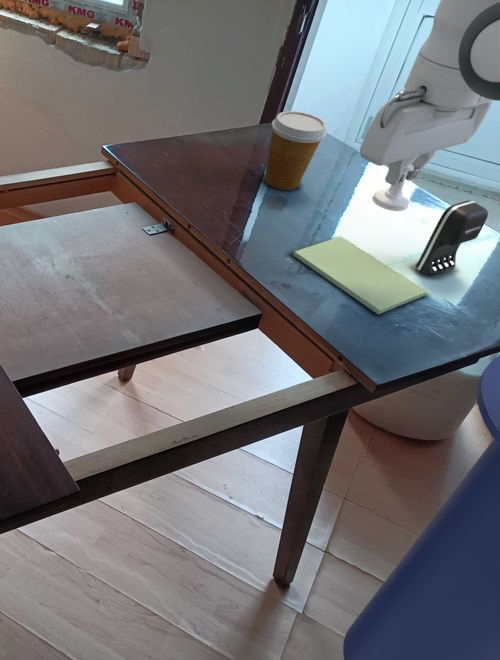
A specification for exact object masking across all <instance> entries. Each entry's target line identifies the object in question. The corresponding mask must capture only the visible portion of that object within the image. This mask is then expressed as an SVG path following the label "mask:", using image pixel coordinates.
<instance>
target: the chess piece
mask: <svg viewBox="0 0 500 660" xmlns="http://www.w3.org/2000/svg"><path fill="white" fill-rule="evenodd" d="M418 156H419V155H418ZM418 156H415V157H411V158H410V159H409V161H408V163H406V164H404V170H403V171H404V172H406V175H407V172H408V171H413V170H414V166H413V165H412V163H413V162H414V161H415V160H416V158H417V157H418ZM406 175H405V177H404V178H403V181H402V183H399V184H396V185H391V184H390V186H389V187H388V188H386V189H381V190H377V191H375V192H374V194H373V196H372V197H371V200H372V202H373V203H374V205H376V206H378V207H379V208H382V209H385V210H388V211H393V212H404V211H406V210H408V208H409V204H410V201H409V199H408V198H407V196H405V195H404V194H403V187H404V184H405V181H406V179H405V178H406Z"/></svg>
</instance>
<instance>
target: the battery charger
mask: <svg viewBox="0 0 500 660" xmlns="http://www.w3.org/2000/svg"><path fill="white" fill-rule="evenodd" d="M488 217H489V211H488V209H486V208H485V207H484V206H482V205H480V204H478V203H477V202H476V201H474V200H465V201H460V202H457V203H455V204H451V205H449V206H448V207H447V208H446V209H445V210H444V211H443V212H442V215H441V216H440V218H439V219H438V222H437V224H436V225H435V227H434V229H433V230H432V233H431V235H430V236H429V239H428V241H427V243H426V245H425V248H424V250H423V251H422V254H421V256H420V257H419V259H418V261H417V262H416V265H415V268H416V269H417V270H418V271H421V272H422V273H424V274H426V275H428V276H433V277H435V276H437V275H440V274H443V273H447V272H449V271H452V270H454V269H455V267H456V261H457V260H456V257H457V252H458V249H459V247H460V246H461V244H464V243H466V242H470V241H473V240H475V239H477V238H478V237H479V234H480V233H481V231H482V229H483V227H484V225H485V224H486V221H487V220H488Z"/></svg>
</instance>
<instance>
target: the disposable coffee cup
mask: <svg viewBox="0 0 500 660" xmlns="http://www.w3.org/2000/svg"><path fill="white" fill-rule="evenodd" d="M271 127H272V133H271V138H270V144H269V149H268V150H269V151H268V156H267V162H266V169H265V173H264V177H263V178H264V182H265V184H267V185H269V186H270V187H272V188H275V189H279V190H284V191H290V190H295V189H297V188H298V187H299V185H300V182H301V181H302V178H303V176H304V175H305V173H306V170H307V169H308V167H309V164H310V163H311V161H312V159H313V157H314V155H315V153H316V151H317V149H318V147H319V145H320V143H321V141H323V139H324V138H325V137H326V135H327V124H326V122H325V121H324V120H323V119H322V118H320V117H318V116H316V115H314V114H311V113H307V112H303V111H296V110H288V111H282V112H279V113H278V114H277V115H276V117H275V118H274V119H273V120H272V123H271Z"/></svg>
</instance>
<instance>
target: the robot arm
mask: <svg viewBox="0 0 500 660" xmlns="http://www.w3.org/2000/svg"><path fill="white" fill-rule="evenodd" d="M493 101H497V102H500V0H440V1H439V3H438V5H437V7H436V10H435V13H434V16H433V23H432V27H431V30H430V33H429V35H428V37H427V38H426V39H425V41H424V42H423V44H422V45H421V47H419V51H418V53H417V56H416V57H415V60H414V62H413V65H412V67H411V69H410V72H409V75H408V76H407V79H406V82H405V84H404V87H403V90H400V91H398V92H397V93H396V94H395V96H394V97H392V99H390V100H388V101H386V102H385V103H384V104H383V105H382V106H380V109H379V110H378V111H377V113H376V114H375V116H374V118H373V120H372V122H371V124H370V125H369V128H368V130H367V132H366V134H365V136H364V138H363V140H362V142H361V145H360V147H359V154H360V157H361V158H363V159H364V160H366V161H367V162H370V163H372V164H374V165H376V166H378V167H381V166H386V165H388V171H387V173H386V176H385V179H384V181H385V182H386V183H387V184H389V185H390V186H391V185H396V184H399V183H402V181H403V178H404V177H405V175H406V172H404V171H403V170H404V164H406V163H408V161H409V159H410V158H411V157H415V156H418V155H419V156H418V157H417V158H416V160H415V161H414V162H413V163H412V165H413V166H414V170H413V171H408V172H407V175H406V178H405V181H408V182H409V181H413V180H417V179H418V178H419V176H420V173H421V172H422V169H423V168H424V167H426V165H427V164H428V163H429V162H430V161H431V160H432V158H433V157H434V155H435V153H436V152H437V151H440V150H443V149H447V148H450V147H451V148H452V147H454V146H458V145H462V144H466V143H467V142H468V141H470V140H471V139H472V138H473V136H474V135H475V134H476V133H477V131H478V130H479V128H480V127H481V124H482V123H483V121H484V119H485V118H486V116H487V114H488V112H489V110H490V108H491V107H492V104H493Z"/></svg>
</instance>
